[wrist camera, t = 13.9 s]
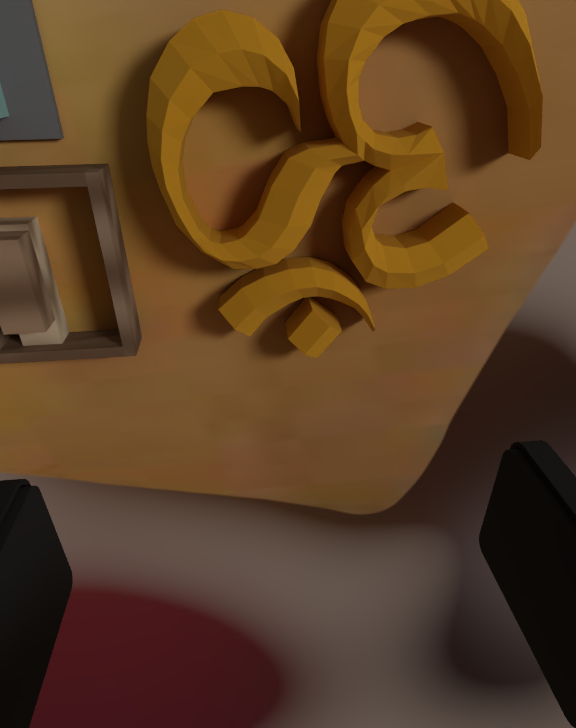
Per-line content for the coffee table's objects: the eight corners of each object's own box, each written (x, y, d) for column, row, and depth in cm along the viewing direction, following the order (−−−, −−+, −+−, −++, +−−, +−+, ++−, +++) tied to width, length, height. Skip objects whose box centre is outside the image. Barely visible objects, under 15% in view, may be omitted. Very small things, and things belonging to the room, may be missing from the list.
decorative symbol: (578, -79, 30) (510, 338, 46) (535, -62, 35) (487, 315, 51) (103, -24, 30) (200, 381, 46) (119, -13, 34) (203, 354, 50)
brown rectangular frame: (-61, 168, 39) (-85, 177, 36) (108, 163, 40) (98, 172, 37) (4, 345, 47) (-12, 364, 44) (141, 337, 48) (135, 355, 45)
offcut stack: (-6, 217, 41) (-33, 235, 37) (37, 215, 41) (15, 233, 37) (32, 333, 47) (12, 359, 43) (70, 331, 47) (54, 357, 43)
